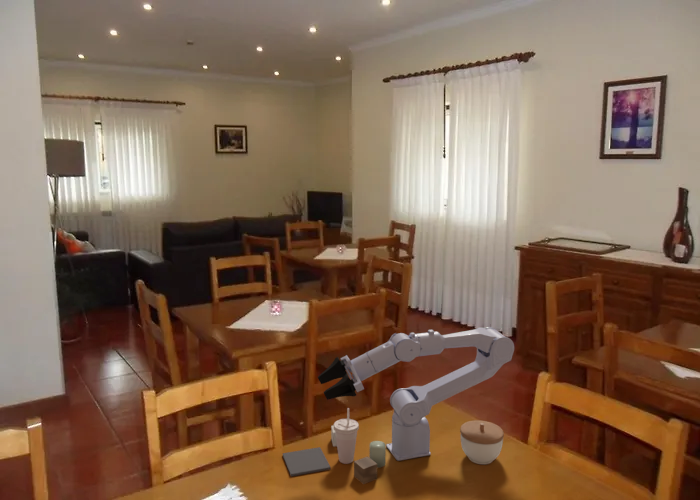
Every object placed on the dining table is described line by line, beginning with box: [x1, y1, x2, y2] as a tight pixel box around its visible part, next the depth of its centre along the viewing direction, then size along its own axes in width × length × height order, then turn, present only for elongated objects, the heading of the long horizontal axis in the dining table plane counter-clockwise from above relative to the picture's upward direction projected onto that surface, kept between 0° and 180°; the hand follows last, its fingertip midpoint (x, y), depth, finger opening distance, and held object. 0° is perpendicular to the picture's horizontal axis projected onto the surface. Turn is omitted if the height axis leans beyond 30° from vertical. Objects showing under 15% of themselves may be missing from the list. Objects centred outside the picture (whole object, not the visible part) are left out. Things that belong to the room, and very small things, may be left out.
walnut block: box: [353, 456, 378, 485], centre depth 134 cm, size 4×4×4 cm
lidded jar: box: [459, 419, 505, 465], centre depth 142 cm, size 11×11×9 cm
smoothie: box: [333, 407, 360, 465], centre depth 141 cm, size 6×6×14 cm
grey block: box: [330, 425, 337, 447], centre depth 151 cm, size 4×4×4 cm
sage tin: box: [369, 440, 387, 469], centre depth 140 cm, size 4×4×5 cm
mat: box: [282, 446, 332, 477], centre depth 141 cm, size 10×10×1 cm
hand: (322, 388), depth 139 cm, fingers open, 7 cm apart
